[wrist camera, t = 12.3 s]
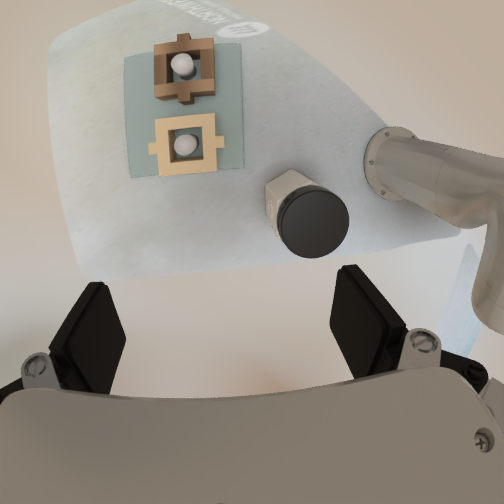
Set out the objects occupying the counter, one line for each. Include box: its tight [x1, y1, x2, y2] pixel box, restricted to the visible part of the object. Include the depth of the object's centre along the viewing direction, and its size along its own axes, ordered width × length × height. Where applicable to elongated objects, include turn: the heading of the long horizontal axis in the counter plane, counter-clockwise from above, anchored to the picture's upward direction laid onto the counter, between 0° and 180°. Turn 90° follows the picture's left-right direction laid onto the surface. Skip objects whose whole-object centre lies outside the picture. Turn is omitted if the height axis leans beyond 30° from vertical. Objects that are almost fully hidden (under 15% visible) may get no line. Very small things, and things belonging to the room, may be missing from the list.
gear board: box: [124, 44, 244, 178], centre depth 30 cm, size 16×18×8 cm
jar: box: [265, 169, 349, 258], centre depth 35 cm, size 9×8×12 cm
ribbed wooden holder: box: [154, 33, 215, 105], centre depth 27 cm, size 7×9×5 cm
